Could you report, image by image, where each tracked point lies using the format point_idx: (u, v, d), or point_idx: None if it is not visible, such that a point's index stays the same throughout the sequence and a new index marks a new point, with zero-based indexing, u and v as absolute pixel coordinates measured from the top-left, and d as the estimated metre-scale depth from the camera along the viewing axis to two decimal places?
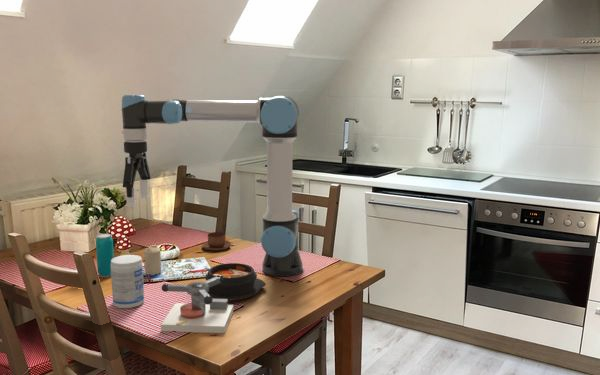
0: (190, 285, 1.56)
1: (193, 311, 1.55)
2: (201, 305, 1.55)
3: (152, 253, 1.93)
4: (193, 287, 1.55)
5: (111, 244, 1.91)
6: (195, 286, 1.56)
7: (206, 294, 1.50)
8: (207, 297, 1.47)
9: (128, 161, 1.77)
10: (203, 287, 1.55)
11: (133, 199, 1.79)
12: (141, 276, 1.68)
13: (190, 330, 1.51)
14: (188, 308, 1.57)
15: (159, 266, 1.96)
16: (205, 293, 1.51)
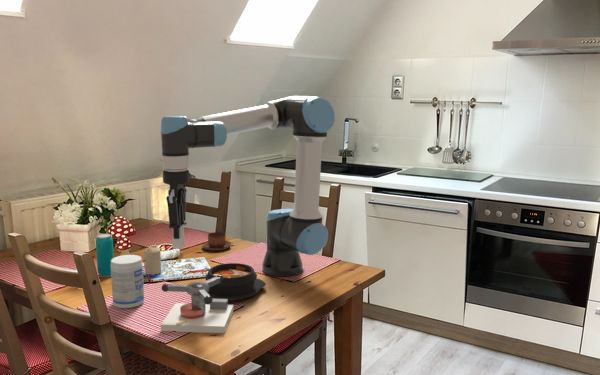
0: (190, 285, 1.56)
1: (193, 311, 1.55)
2: (201, 305, 1.55)
3: (152, 253, 1.93)
4: (193, 287, 1.55)
5: (111, 244, 1.91)
6: (195, 286, 1.56)
7: (206, 294, 1.50)
8: (207, 297, 1.47)
9: (170, 201, 1.52)
10: (203, 287, 1.55)
11: (180, 241, 1.59)
12: (141, 276, 1.68)
13: (190, 330, 1.51)
14: (188, 308, 1.57)
15: (159, 266, 1.96)
16: (205, 293, 1.51)
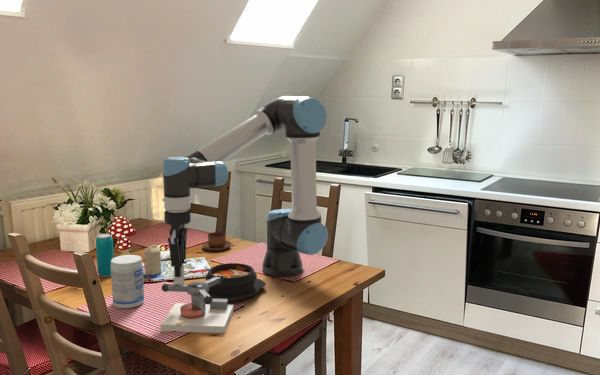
0: (190, 285, 1.56)
1: (193, 311, 1.55)
2: (201, 305, 1.55)
3: (152, 253, 1.93)
4: (193, 287, 1.55)
5: (111, 244, 1.91)
6: (195, 286, 1.56)
7: (206, 294, 1.50)
8: (207, 297, 1.47)
9: (171, 242, 1.54)
10: (203, 287, 1.55)
11: (181, 279, 1.61)
12: (141, 276, 1.68)
13: (190, 330, 1.51)
14: (188, 308, 1.57)
15: (159, 266, 1.96)
16: (205, 293, 1.51)
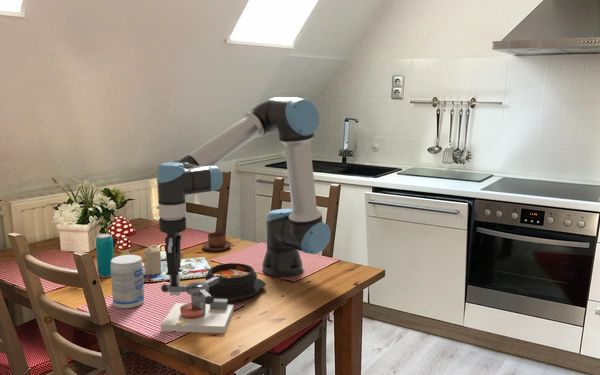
0: (190, 285, 1.56)
1: (193, 311, 1.55)
2: (201, 305, 1.56)
3: (152, 253, 1.93)
4: (193, 287, 1.55)
5: (111, 244, 1.91)
6: (195, 286, 1.56)
7: (207, 294, 1.50)
8: (208, 297, 1.47)
9: (168, 251, 1.49)
10: (203, 287, 1.55)
11: None
12: (141, 276, 1.68)
13: (190, 330, 1.51)
14: (188, 308, 1.57)
15: (159, 266, 1.96)
16: (206, 293, 1.51)
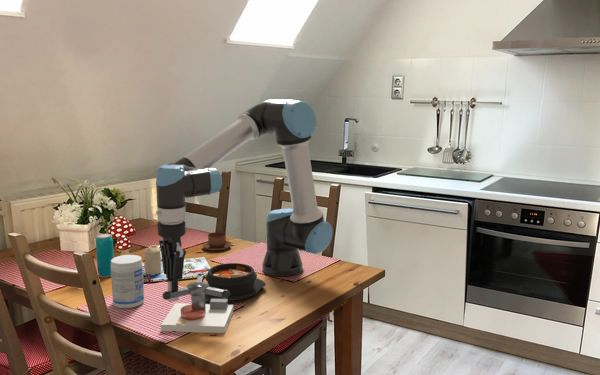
0: (191, 287, 1.55)
1: (200, 311, 1.55)
2: (204, 303, 1.56)
3: (152, 253, 1.93)
4: (197, 287, 1.55)
5: (111, 244, 1.91)
6: (197, 286, 1.55)
7: (219, 289, 1.53)
8: (226, 291, 1.52)
9: (180, 256, 1.46)
10: (205, 285, 1.56)
11: None
12: (141, 276, 1.68)
13: (190, 330, 1.51)
14: (190, 310, 1.55)
15: (159, 266, 1.96)
16: (217, 289, 1.54)
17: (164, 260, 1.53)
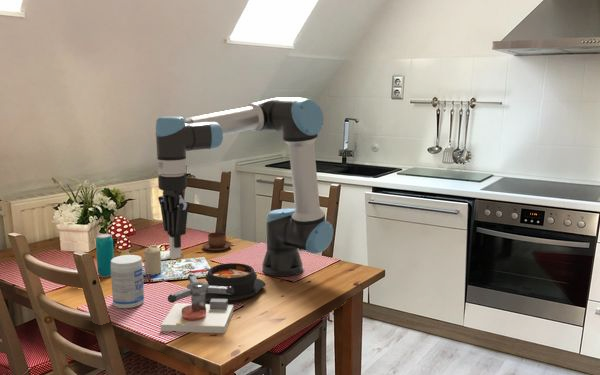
0: (192, 287, 1.54)
1: (202, 311, 1.55)
2: None
3: (152, 253, 1.93)
4: (198, 287, 1.55)
5: (111, 244, 1.91)
6: (197, 286, 1.55)
7: (222, 287, 1.55)
8: (231, 287, 1.54)
9: (183, 208, 1.42)
10: (206, 284, 1.57)
11: (179, 249, 1.49)
12: (141, 276, 1.68)
13: (190, 330, 1.51)
14: (193, 311, 1.55)
15: (159, 266, 1.96)
16: (219, 286, 1.56)
17: (164, 216, 1.49)
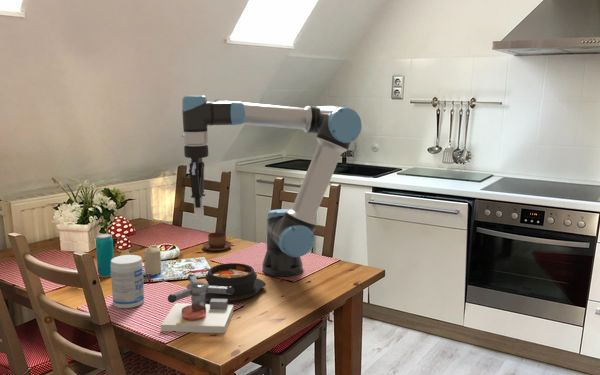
0: (192, 287, 1.54)
1: (202, 311, 1.55)
2: None
3: (152, 253, 1.93)
4: (198, 287, 1.55)
5: (111, 244, 1.91)
6: (197, 286, 1.55)
7: (222, 287, 1.55)
8: (231, 287, 1.54)
9: (192, 173, 1.67)
10: (206, 284, 1.57)
11: (201, 209, 1.74)
12: (141, 276, 1.68)
13: (190, 330, 1.51)
14: (193, 311, 1.55)
15: (159, 266, 1.96)
16: (219, 286, 1.56)
17: None
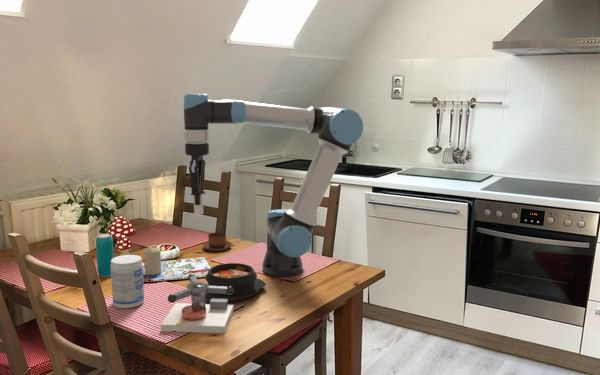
0: (192, 287, 1.54)
1: (202, 311, 1.55)
2: None
3: (152, 253, 1.93)
4: (198, 287, 1.55)
5: (111, 244, 1.91)
6: (197, 286, 1.55)
7: (222, 287, 1.55)
8: (231, 287, 1.54)
9: (192, 171, 1.68)
10: (206, 284, 1.57)
11: (201, 207, 1.76)
12: (141, 276, 1.68)
13: (190, 330, 1.51)
14: (193, 311, 1.55)
15: (159, 266, 1.96)
16: (219, 286, 1.56)
17: None
